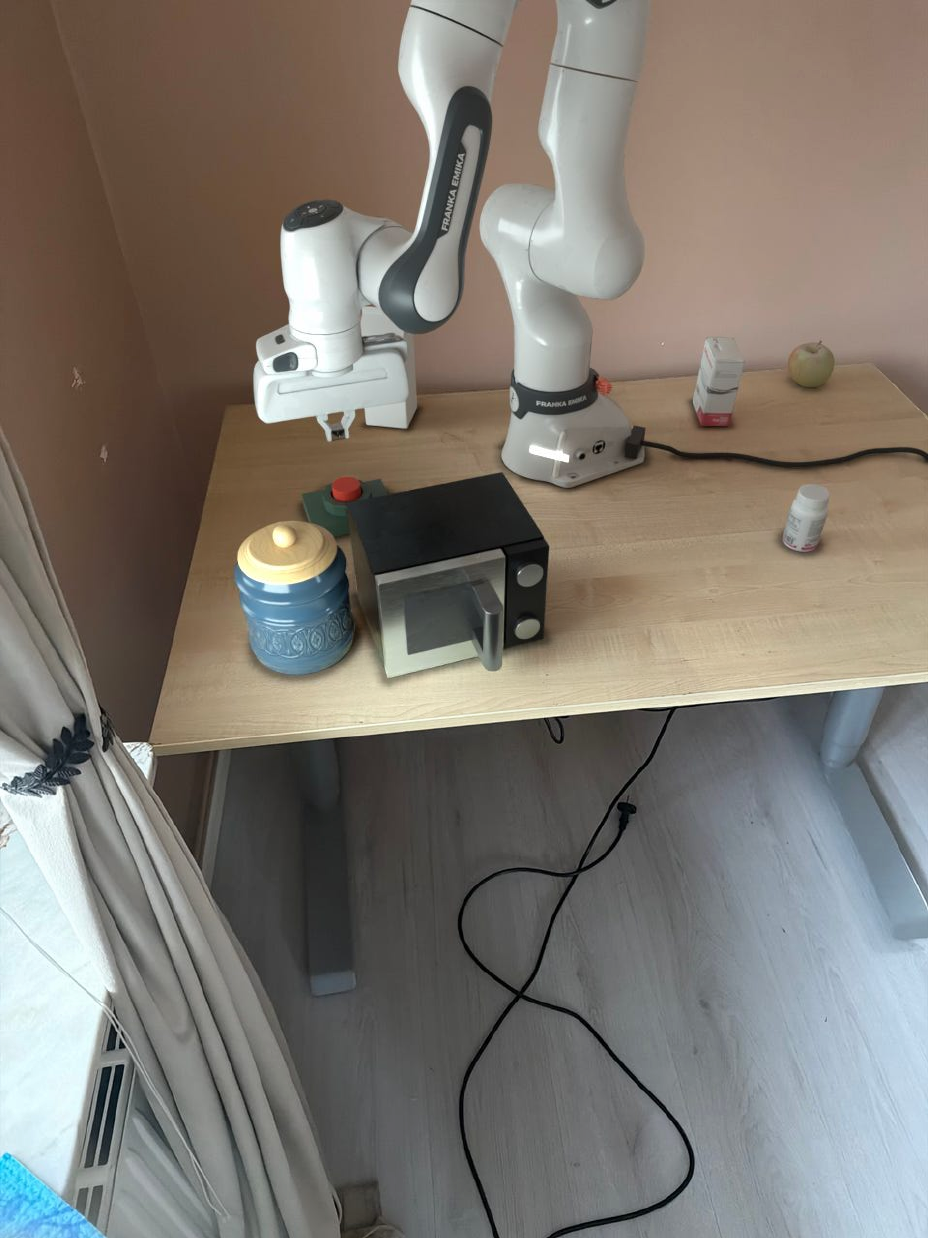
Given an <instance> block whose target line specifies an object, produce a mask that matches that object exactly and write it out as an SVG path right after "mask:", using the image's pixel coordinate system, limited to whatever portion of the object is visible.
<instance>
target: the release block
mask: <svg viewBox="0 0 928 1238" xmlns="http://www.w3.org/2000/svg"><path fill="white" fill-rule="evenodd" d="M356 479H357V480H359V482H360V488H361V495H360V497H359V498H358V499H356V500H354V501H357V500H362V499H367V498H372V497H377V496H383V495H388V494H389V493H388V491H387V489H386V487H385V485H384V483H383V480H382V479H381V478H376V479H372V480H365V481H363V480H361V479H358V478H356ZM332 483H333V482H330V483H329V484H327V485H326V486H325V487H324V489H320V490H314V491H308V492H304V493H303V492H302V493H301V500H302V505H303V510H304V512H305V516H306V518H307V520H308V521H307V522H308V523H313V524H316V525H319V526H321V527H323V528H325V529H326V530H328V531H329V532H330V533H331V534H332V535H333V537H334V538H337V537H341V536H347V535H350V530H349V522H348V514H347V506H346V503H347V502H342V501H337V500H335V499H334V497H333V491H332ZM348 502H352V501H348Z"/></svg>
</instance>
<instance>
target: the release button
mask: <svg viewBox="0 0 928 1238" xmlns="http://www.w3.org/2000/svg"><path fill="white" fill-rule="evenodd" d="M357 479H358V478H356V477H353V476H342V477H338V478H336V479H334V481H332V482H331V483H332V491H333V497H334V499H335V500H337V501H342V502H348V501H354V500H356V499H358V498H359V497H360V495H361V488H360V482H359V480H360V479H358V480H357Z"/></svg>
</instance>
